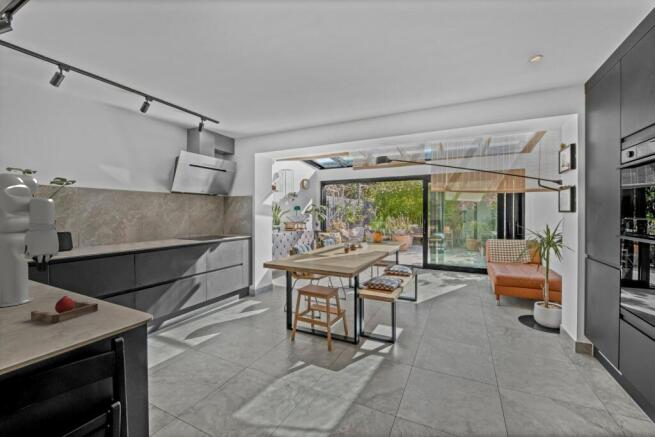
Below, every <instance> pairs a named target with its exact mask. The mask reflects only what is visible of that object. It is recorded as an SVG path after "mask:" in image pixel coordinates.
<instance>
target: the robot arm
mask: <svg viewBox="0 0 655 437" xmlns="http://www.w3.org/2000/svg"><path fill="white" fill-rule="evenodd" d="M38 182H39V181H38V180H37V179H36V178H35V177H34V176H31V175H29V174H17V173H5V172H3V173H0V308H4V307H12V306H13V307H14V306H19V305H23V304H27V303H30V302H32V301H34V297H33V296H29V264H28V263H29V262H28V261H27V260H32V261H33V262H34V263H35V270H36V272H40V273H43V272H47V269H48V262H50V260H51V259H52V258H54V257H56V256H58V255H59V253H58V252H59V249H60V248H59V246H60V243H59V237H58V232H57V230H56V228H58V227H59V225H58V224H56V222H55V217H56V216H55V214H56V213H55V212H56V211H55V210H56V209H55V206H56V203H55V200H54V199H52V198H48V197H47V198H46V197H41V196H40V197H38V196H36V197H35V196H32V195H33V194H35V193H36V192H37V191H38V188H39V183H38ZM21 255H24V257H23V256H21Z"/></svg>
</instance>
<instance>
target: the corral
mask: <svg viewBox="0 0 655 437" xmlns="http://www.w3.org/2000/svg"><path fill="white" fill-rule="evenodd" d="M73 301H74V303H75V307H74V308H73V310H70V311H66V312H63V313H52V312H47V311H42V310H32V311H30V320H31V321H32V320H33V321H38V322H43V323H49V324H54V325H55V324H59V323H62V322H65V321H68V320H69V321H70V320H73V319H76V318H78V317H82V316H85V315H89V314H92V313H96V312H99V304H98V303H95V302H88V301H81V300H73Z"/></svg>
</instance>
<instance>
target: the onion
mask: <svg viewBox="0 0 655 437" xmlns="http://www.w3.org/2000/svg"><path fill="white" fill-rule="evenodd" d="M74 301H75V300H73V299H71V298H70V297H68V295H67V294H65V295H64V296H62V297H61V298H60V299H59V300H58V301H57V302H56V303H55V306H54V309H55V311H56V314H59V313H63V312H66V311H70V310H73V308H74V307H75V303H74Z"/></svg>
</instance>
